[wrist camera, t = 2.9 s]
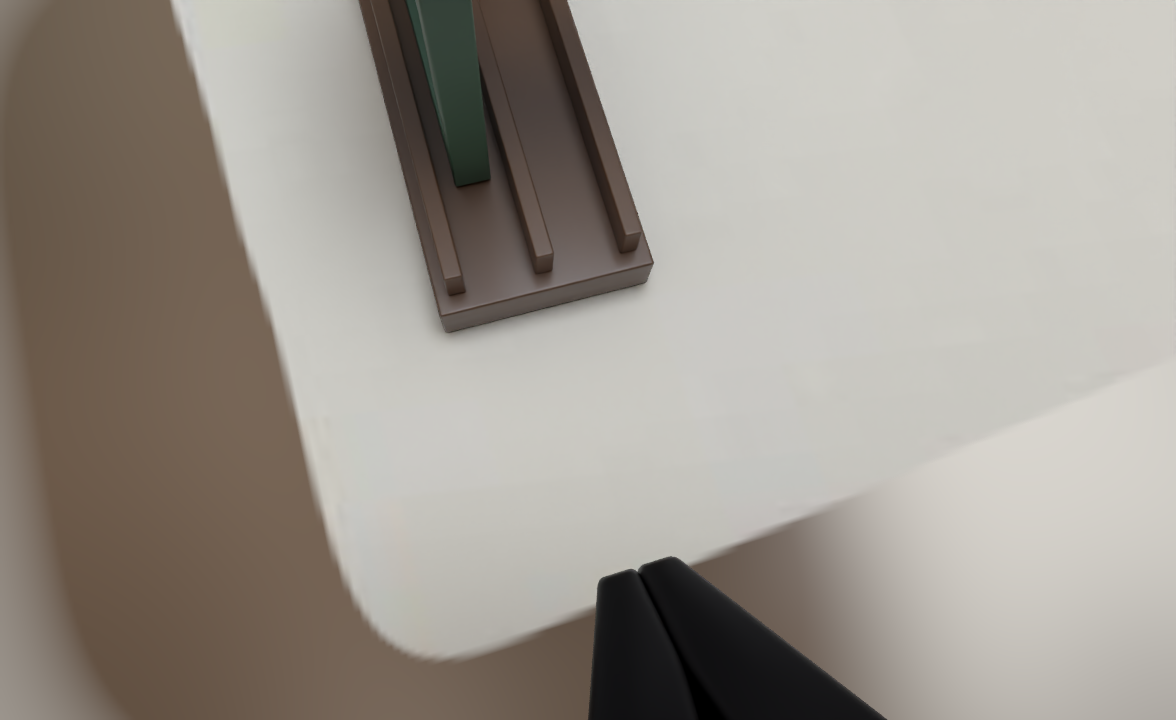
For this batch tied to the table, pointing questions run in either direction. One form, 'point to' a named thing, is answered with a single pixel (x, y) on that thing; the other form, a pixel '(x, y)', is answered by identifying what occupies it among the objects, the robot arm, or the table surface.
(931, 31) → the table surface
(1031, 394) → the table surface
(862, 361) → the table surface
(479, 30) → the frame display rack
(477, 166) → the sash
